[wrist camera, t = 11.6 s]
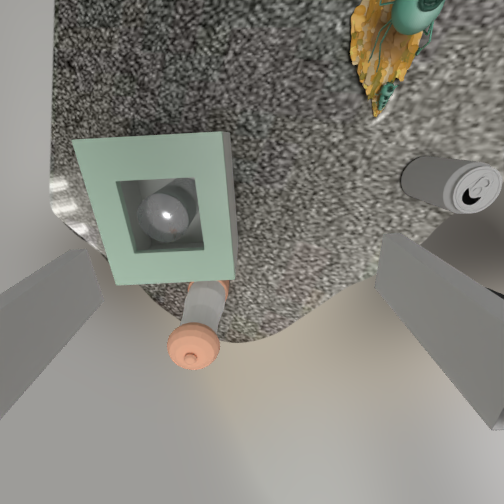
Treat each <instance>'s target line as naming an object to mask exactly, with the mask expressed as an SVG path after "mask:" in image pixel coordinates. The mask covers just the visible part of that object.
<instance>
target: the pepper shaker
mask: <svg viewBox="0 0 504 504" xmlns="http://www.w3.org/2000/svg"><path fill="white" fill-rule="evenodd" d="M228 291H229V280H216V281H196V282H190V283H189V287H188V294H187V296H186V299H185V304H184V313H183V317H182V320H181V323H180V326H179V327H178V328H176V329H175V330H174V331H173V332H172V333H171V334H170V336H169V338H168V342H167V348H168V353H169V355H170V357H171V359H172V361H173V362H174V363H176V364H177V365H178V366H180V367H182V368H185V369H190V370H197V369H202V368H204V367H206V366H208V365H210V364H211V363H212V362H213V361H214V360H215V359H216V357H217V355H218V353H219V350H220V342H219V339H218V337H217V335H216V333H217V328H218V322H219V320H220V317H221V315H222V312H223V310H224V307H225V301H226V299H227V296H228Z"/></svg>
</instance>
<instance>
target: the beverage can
mask: <svg viewBox="0 0 504 504" xmlns="http://www.w3.org/2000/svg"><path fill="white" fill-rule="evenodd" d="M401 185H402V188H403V191H404V192H405V193H406V194H407V195H409V196H411V197H414V198H416V199H419V200H422V201H424V202H427V203H430V204H432V205H435V206H438V207H441V208H443V209H446V210H449V211H451V212H454V213H459V214H460V213H461V214H462V213H475V212H479V211H481V210H483V209H485V208H487V207H488V206H489V205H490V204H491V203H492V202H494V200H495V199H496V198H497V196H498V195H499V192H500V190H501V187H502V177H501V174H500V173H499V171H498V170H496V169H495V168H493V167H491V166H490V165H488V164H487V163H484V162H476V161H467V160H458V159H449V158H440V157H431V156H424V157H420V158H417V159H415V160H414V161H412V162H411V163H410V164H409V165H408V166H407V167H406V169H405V170H404V172H403V175H402V178H401Z"/></svg>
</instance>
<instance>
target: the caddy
mask: <svg viewBox="0 0 504 504" xmlns="http://www.w3.org/2000/svg"><path fill="white" fill-rule="evenodd" d="M72 144H73V147H74V150H75V153H76V157H77V160H78V163H79V166H80V170H81V173H82V176H83V179H84V183H85V186H86V189H87V192H88V196H89V199H90V202H91V205H92V209H93V212H94V215H95V218H96V221H97V225H98V228H99V231H100V234H101V238H102V241H103V244H104V247H105V251H106V254H107V257H108V260H109V264H110V267H111V270H112V273H113V276H114V280H115V283H116V285H132V284H133V285H134V284H154V283H175V282H196V281H216V280H235V274H236V264H237V254H238V244H239V242H238V229H237V216H236V203H235V190H234V177H233V164H232V151H231V138H230V132H222V131H221V132H203V133H185V134H167V135H148V136H130V137H112V138H94V139H76V140H72ZM176 178H191V179H193V180H195V183H196V191H197V198H198V205H199V211H198V213H197V214H196V216H195V217H194V219H193V221H192V222H191V224H190V225H189V227H188V229H187V231H186V232H185V234H184V235H183V236H182V237H181V238H179V239H178V240H176V241H172V242H161V241H157V240H155V239H153V238H151V237H150V236H148V235H147V234H146V233H145V232H144V231H143V229H142V228H141V226H140V224H139V222H138V216H137V212H138V208H139V205H140V203H141V202H142V201H143V200H144V199H145V198H146V197H148V196H149V195H151V194H153V193H155V192H156V191H158V190H159V189H161V188H162V187H164V186H165V185H167V184H168V183H170V182H171V181H173V180H174V179H176Z"/></svg>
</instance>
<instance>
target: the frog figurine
mask: <svg viewBox="0 0 504 504" xmlns="http://www.w3.org/2000/svg"><path fill="white" fill-rule="evenodd" d="M444 2H445V0H362V2H361V4H360V6H358V7H356V8H355V10H354V13H353V15H352V16H351V38H352V39H351V47H350V56H351V59H352V64H353V65H357V64H358V71H357V73H358V75H359V78H360V82H361V83H363V87H364V88H365V89H366V94H367V95H368V100H369V99H372V109H373V115H374V117H377V116H378V114H379V113H381V112H382V110H383V109H384V108H385V105H386V103H387V101H388V99H389V98H390V96H391V94H392V93H393V92H394V89H395V88H396V87H397V86H399V85H393V82H394V80H395V78H398V79H399V80H400V81H403V80H404V75H405V74H406V72H407V70H408V69H409V67H410V65H411V63H412V61H413V59H414V57H415V55H416V56H417V55H418V54H419V52H420V51H421V50H422V49H423V48H424V47H425V46H427V45H428V44H429V43H430V41H431V36H432V30H433V24H434V20H435V19H436V18H437V16H438V15H439V13H440V11H441V10H442V8H443V5H444ZM429 25H430V27H429V30H428V33H427V32H426V31H425V30H424V29H426V28H427V27H428V26H429ZM430 29H431V30H430ZM423 32H424V33H425V35H426V36H427V35H428V34H429V32H430V37H429V42H428V43H426V44H425V45H424V46H423V47H422V48H419V47H418V45H419V41H420V39H421V36H422V34H423ZM356 68H357V67H356ZM367 102H368V101H367Z"/></svg>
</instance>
